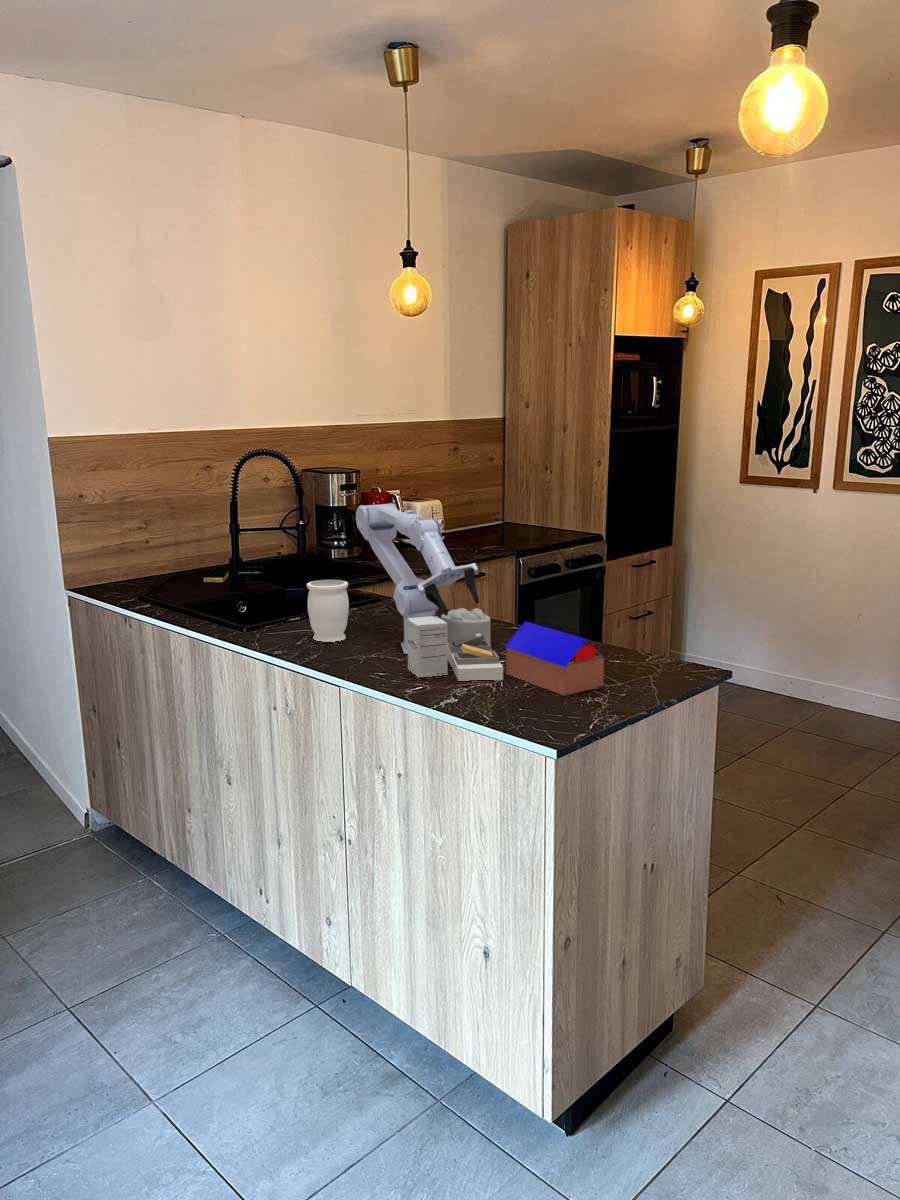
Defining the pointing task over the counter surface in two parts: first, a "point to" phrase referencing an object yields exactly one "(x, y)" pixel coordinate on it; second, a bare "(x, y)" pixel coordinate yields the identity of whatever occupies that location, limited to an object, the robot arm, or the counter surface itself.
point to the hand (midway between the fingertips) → (462, 607)
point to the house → (554, 660)
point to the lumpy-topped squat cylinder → (466, 624)
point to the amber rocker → (476, 651)
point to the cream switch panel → (474, 663)
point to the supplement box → (427, 646)
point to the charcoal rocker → (469, 640)
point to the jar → (328, 609)
